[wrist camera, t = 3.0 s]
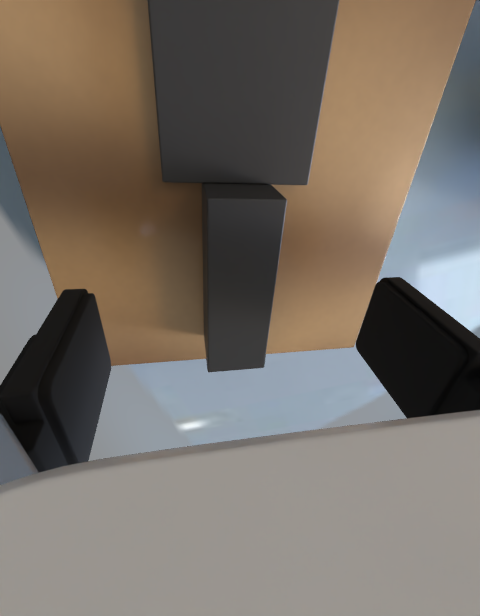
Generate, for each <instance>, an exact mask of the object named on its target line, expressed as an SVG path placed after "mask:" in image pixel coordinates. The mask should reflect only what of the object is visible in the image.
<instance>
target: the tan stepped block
mask: <svg viewBox="0 0 480 616" xmlns="http://www.w3.org/2000/svg"><path fill="white" fill-rule="evenodd" d="M475 1H476V0H339V6H338V12H337V18H336V23H335V29H334V35H333V41H332V47H331V52H330V58H329V64H328V70H327V76H326V82H325V87H324V93H323V99H322V105H321V111H320V117H319V122H318V128H317V134H316V140H315V146H314V152H313V157H312V163H311V169H310V175H309V181H308V185H272V186H273V187H274V188H275V189H276V190H277V191H278V192H280V193H281V194H282V195H283V196H284V197H285V198H286V199H287V206H286V213H285V220H284V228H283V235H282V242H281V249H280V256H279V263H278V271H277V278H276V285H275V292H274V299H273V307H272V314H271V321H270V328H269V335H268V342H267V350H266V354H272V353H285V352H298V351H311V350H324V349H337V348H350V347H354V345H355V342H356V339H357V336H358V334H359V331H360V328H361V325H362V322H363V319H364V317H365V314H366V311H367V308H368V305H369V302H370V299H371V296H372V293H373V290H374V287H375V285H376V282H377V280H378V277H379V274H380V271H381V268H382V265H383V263H384V260H385V257H386V254H387V251H388V248H389V245H390V243H391V240H392V237H393V234H394V231H395V228H396V226H397V223H398V220H399V217H400V214H401V211H402V209H403V206H404V203H405V200H406V197H407V194H408V191H409V189H410V186H411V183H412V180H413V177H414V174H415V172H416V169H417V166H418V163H419V160H420V157H421V155H422V152H423V149H424V146H425V143H426V140H427V137H428V135H429V132H430V129H431V126H432V123H433V120H434V118H435V115H436V112H437V109H438V106H439V103H440V100H441V98H442V95H443V92H444V89H445V86H446V83H447V81H448V78H449V75H450V72H451V69H452V66H453V64H454V61H455V58H456V55H457V52H458V49H459V46H460V44H461V41H462V38H463V35H464V32H465V29H466V27H467V24H468V21H469V18H470V15H471V12H472V10H473V7H474V4H475ZM0 126H1V129H2V132H3V135H4V138H5V142H6V145H7V148H8V151H9V154H10V157H11V160H12V163H13V166H14V169H15V172H16V175H17V178H18V181H19V184H20V187H21V190H22V193H23V196H24V199H25V202H26V205H27V208H28V211H29V214H30V217H31V220H32V223H33V226H34V229H35V232H36V235H37V238H38V241H39V244H40V247H41V250H42V253H43V256H44V259H45V262H46V265H47V268H48V271H49V274H50V277H51V280H52V283H53V286H54V289H55V292H56V295H57V298H59V296H60V295H61V293H62V291H63V290H65V289H86V290H87V291H88V293H93V294H94V295H95V298H96V302H97V306H98V310H99V314H100V318H101V322H102V326H103V330H104V334H105V338H106V343H107V347H108V351H109V355H110V359H111V366H114V365H128V364H141V363H154V362H167V361H180V360H193V359H206V351H205V342H204V314H203V243H202V183H171V182H163V181H162V171H161V159H160V147H159V135H158V123H157V110H156V98H155V86H154V74H153V62H152V50H151V38H150V25H149V13H148V1H147V0H0Z"/></svg>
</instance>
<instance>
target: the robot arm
mask: <svg viewBox="0 0 480 616" xmlns="http://www.w3.org/2000/svg"><path fill="white" fill-rule="evenodd" d="M356 348H357V350H358V352H359V353H360V355H361V356H362V357H363V359H364V360H365V361H366V363H367V364H368V365H369V367H370V368H371V370H372V371H373V372H374V374H375V375H376V376H377V378H378V379H379V381H380V382H381V383H382V385H383V386H384V387H385V389H386V390H387V391H388V393H389V394H390V396H391V397H392V398H393V400H394V401H395V402H396V404H397V405H398V406H399V408H400V409H401V411H402V412H403V413H404V415H405V416H406V417H407V419H398V420H391V421H382V422H374V423H366V424H358V425H350V426H342V427H334V428H326V429H318V430H310V431H302V432H294V433H286V434H278V435H271V436H263V437H256V438H248V439H240V440H233V441H225V442H217V443H210V444H202V445H195V446H187V447H179V448H173V449H165V450H159V451H152V452H145V453H138V454H132V455H125V456H118V457H111V458H104V459H99V460H93V461H88V460H89V455H90V452H91V448H92V444H93V440H94V436H95V432H96V427H97V424H98V420H99V415H100V412H101V407H102V403H103V399H104V395H105V391H106V387H107V383H108V379H109V375H110V371H111V359H110V355H109V351H108V347H107V343H106V338H105V334H104V330H103V326H102V322H101V318H100V314H99V310H98V306H97V302H96V298H95V295H94V294H93V293H88V291H87V290H86V289H65V290H63V291H62V293H61V295H60V296H59V298H58V300H57V301H56V303H55V305H54V306H53V308H52V310H51V311H50V313H49V315H48V316H47V318H46V319H45V321H44V323H43V324H42V326H41V328H40V329H39V331H38V333H37V334H36V335H33V336H32V337H31V338H30V339H29V340H28V342H27V344H26V345H25V347H24V348H23V350H22V352H21V353H20V355H19V356H18V358H17V360H16V361H15V363H14V364H13V366H12V368H11V369H10V371H9V373H8V374H7V376H6V377H5V379H4V380H3V382H2V384H1V385H0V616H480V338H478V337H477V336H476V335H474V334H473V333H472V332H471V331H469V330H468V329H467V328H465V327H464V326H463V325H462V324H460V323H459V322H458V321H456V320H455V319H454V318H453V317H451V316H450V315H449V314H447V313H446V312H445V311H443V310H442V309H441V308H440V307H438V306H437V305H436V304H434V303H433V302H432V301H431V300H429V299H428V298H427V297H425V296H424V295H423V294H422V293H420V292H419V291H418V290H416V289H415V288H414V287H413V286H411V285H410V284H409V283H407V282H406V281H405V280H404V279H402V278H400V277H393V278H383V279H381V280H380V282H378V283H377V284H376V285H375V287H374V290H373V293H372V296H371V299H370V302H369V305H368V308H367V311H366V314H365V317H364V320H363V323H362V326H361V328H360V331H359V334H358V337H357V340H356Z"/></svg>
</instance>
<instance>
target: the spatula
mask: <svg viewBox="0 0 480 616" xmlns="http://www.w3.org/2000/svg"><path fill="white" fill-rule="evenodd" d="M147 1H148V13H149V25H150V38H151V50H152V62H153V74H154V86H155V98H156V110H157V123H158V135H159V147H160V159H161V171H162V181H163V182H171V183H202V243H203V314H204V342H205V351H206V360H207V369H208V372H217V371H229V370H241V369H253V368H263V367H264V364H265V357H266V350H267V342H268V335H269V328H270V321H271V314H272V307H273V299H274V292H275V285H276V278H277V271H278V263H279V256H280V249H281V242H282V235H283V228H284V220H285V213H286V206H287V199H286V198H285V197H284V196H283V195H282V194H281V193H280V192H278V191H277V190H276V189H275V188H274V187H273V186H272V185H308V181H309V175H310V169H311V163H312V157H313V152H314V146H315V140H316V134H317V128H318V122H319V117H320V111H321V105H322V99H323V93H324V87H325V82H326V76H327V70H328V64H329V58H330V52H331V47H332V41H333V35H334V29H335V23H336V18H337V12H338V6H339V0H147Z"/></svg>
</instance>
